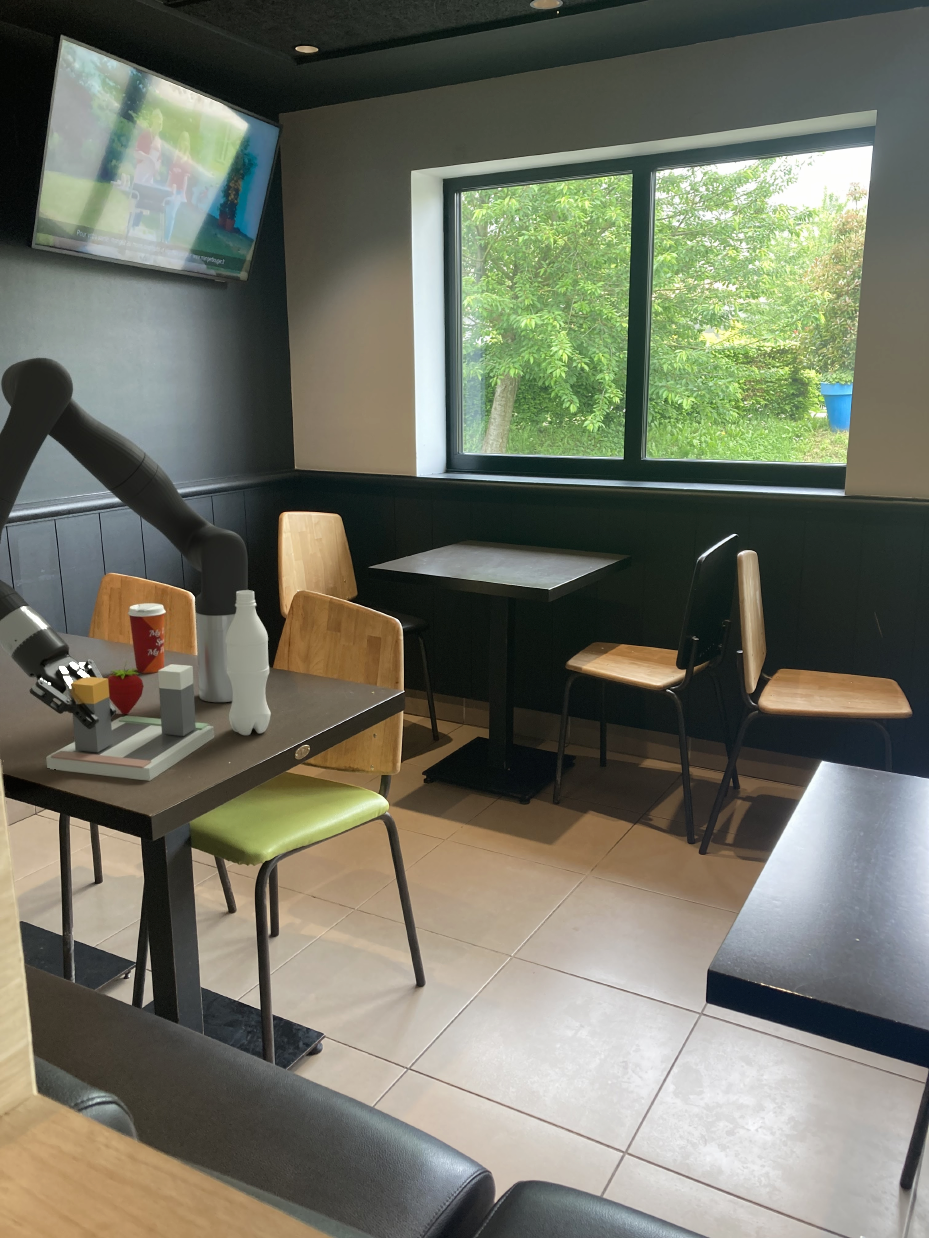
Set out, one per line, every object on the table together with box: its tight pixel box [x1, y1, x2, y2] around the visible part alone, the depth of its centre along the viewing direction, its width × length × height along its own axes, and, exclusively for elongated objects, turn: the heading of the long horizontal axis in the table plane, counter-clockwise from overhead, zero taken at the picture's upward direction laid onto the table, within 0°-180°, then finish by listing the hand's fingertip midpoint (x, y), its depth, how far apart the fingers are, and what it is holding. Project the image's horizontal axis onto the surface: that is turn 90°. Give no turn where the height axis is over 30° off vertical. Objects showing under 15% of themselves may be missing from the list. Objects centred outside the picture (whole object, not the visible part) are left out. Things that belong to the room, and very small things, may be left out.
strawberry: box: [107, 660, 144, 715], centre depth 172 cm, size 6×8×10 cm
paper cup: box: [127, 602, 167, 674], centre depth 200 cm, size 8×8×14 cm
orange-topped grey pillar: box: [70, 677, 113, 752], centre depth 148 cm, size 4×4×11 cm
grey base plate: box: [46, 663, 215, 782], centre depth 152 cm, size 20×18×13 cm
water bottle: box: [226, 589, 272, 736], centre depth 162 cm, size 7×7×25 cm
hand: (103, 720), depth 148 cm, fingers closed on orange-topped grey pillar, 4 cm apart
